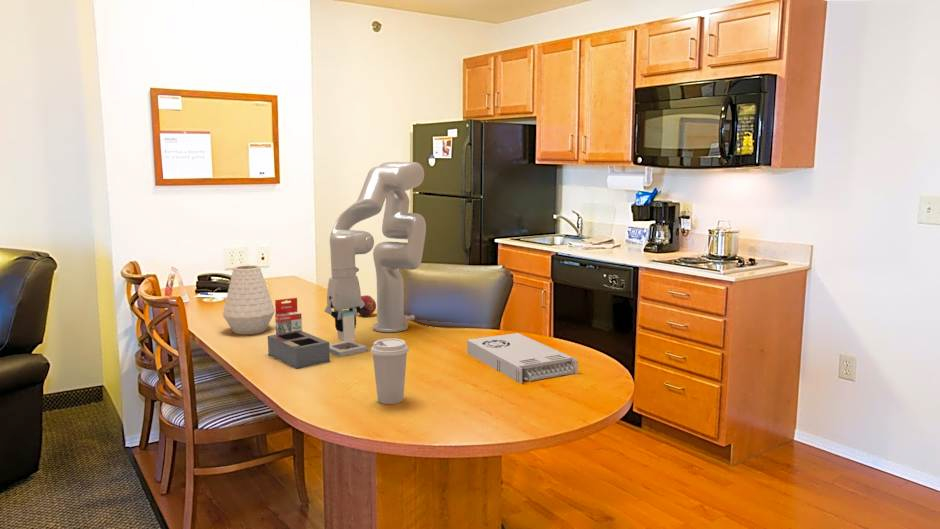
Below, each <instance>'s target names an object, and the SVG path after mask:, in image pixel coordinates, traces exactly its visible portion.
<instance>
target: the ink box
mask: <svg viewBox="0 0 940 529" xmlns="http://www.w3.org/2000/svg"><path fill="white" fill-rule="evenodd" d="M286 301H287V302H286ZM283 302H284V303H283ZM274 304H275V305H274V306H275V308H274V310H275V313H274V317H275V319H274V320H275V335H276V334H281V333H287V332H292V331H298V330H301V331H303V325H302V324H303V323H302V322H303V321H302V312H300V311H298V297H291V298H283V299H275V300H274Z"/></svg>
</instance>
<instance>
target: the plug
mask: <svg viewBox="0 0 940 529" xmlns="http://www.w3.org/2000/svg"><path fill="white" fill-rule="evenodd" d="M341 319H342V322H343V331H342V332H340V331H338V330H336V332H337V333H336V334H337V340H340V341H341V342H344V341H349V340H352V341H354V340H356V329H355V323H354V311H351V310H349V309H343V310H342V313H341Z"/></svg>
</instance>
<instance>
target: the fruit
mask: <svg viewBox="0 0 940 529" xmlns="http://www.w3.org/2000/svg"><path fill="white" fill-rule="evenodd" d="M361 299H362V300H363V302H364V303H365V305H364V306H363V307H362V308H361V309H360V311H359V312H358V314H359V316H360V315H361V316H362V317H368V316H370V315H372V314H373V313H374V312H375V311H376V310H377V301H376V300H375V299H374V298H373V297H372V296H371V295H368V294H367V295H361Z"/></svg>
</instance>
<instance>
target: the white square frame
mask: <svg viewBox="0 0 940 529" xmlns="http://www.w3.org/2000/svg"><path fill="white" fill-rule="evenodd" d="M329 347H330V355H335V356H337V357H338V358H342V357H347V356H351V355H354V354H356V355H357V354H361V353H364V352H368V346H367V345H364V344H363V343H362V344H361V343H360V342H356V341H354V340H348V341H339V342H335V343H329ZM349 347H350V348H349ZM344 348H346V349H344Z"/></svg>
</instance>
